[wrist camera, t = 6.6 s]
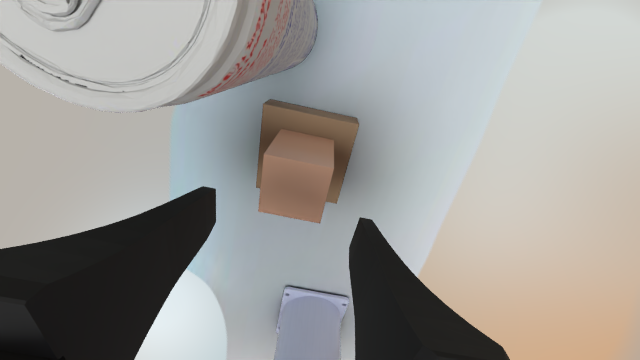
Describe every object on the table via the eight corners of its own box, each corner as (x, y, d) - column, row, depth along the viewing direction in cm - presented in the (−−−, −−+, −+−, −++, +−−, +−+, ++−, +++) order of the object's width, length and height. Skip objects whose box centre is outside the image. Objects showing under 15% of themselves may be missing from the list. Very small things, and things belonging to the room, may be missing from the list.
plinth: (336, 191, 22) (336, 203, 21) (262, 176, 22) (256, 187, 20) (356, 118, 19) (359, 124, 17) (269, 99, 19) (263, 103, 17)
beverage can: (316, -32, 15) (171, -723, 2) (319, 68, 17) (276, 113, 4) (228, -26, 15) (-475, -551, 2) (244, 71, 18) (-11, 121, 5)
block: (323, 185, 20) (320, 223, 15) (275, 175, 20) (258, 211, 15) (333, 140, 18) (333, 168, 13) (281, 128, 18) (263, 153, 13)
